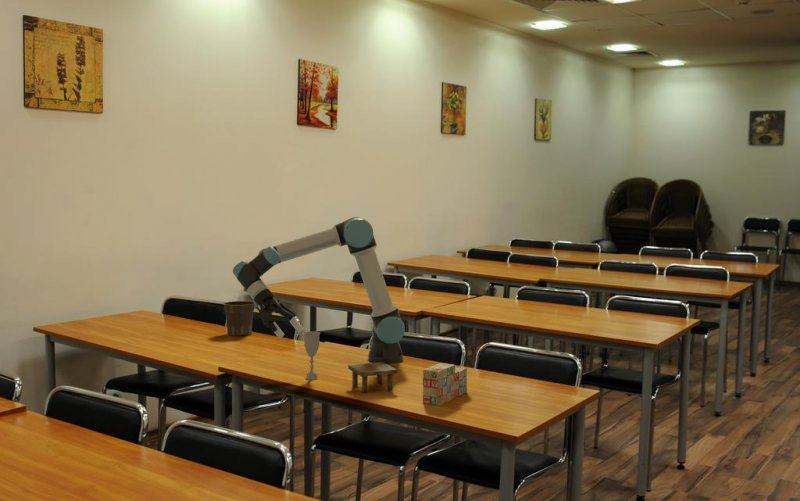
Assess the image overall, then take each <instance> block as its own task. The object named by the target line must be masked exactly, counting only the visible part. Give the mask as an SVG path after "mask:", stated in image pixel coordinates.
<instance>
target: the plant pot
mask: <svg viewBox="0 0 800 501" xmlns="http://www.w3.org/2000/svg"><path fill="white" fill-rule="evenodd" d="M255 305H256V303H255V301H252V300H251V301H248V300H235V301H233V300H232V301H226V302H223V307H224V308H223V309H224V312H225V318H226V320H225V321H226V322H225V323H226V332H227V335H228V336H233V337H234V336H235V337H240V336H250V335H251V334H252V332H253V319H254V311H255Z"/></svg>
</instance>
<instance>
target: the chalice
mask: <svg viewBox="0 0 800 501" xmlns="http://www.w3.org/2000/svg"><path fill="white" fill-rule="evenodd" d="M302 334H303V336H304V337H303V344H304V345H303V346H304V349H305V352H306V354H307V355H308V357H310V360H309V363H310V365H309V367H310V370H309V372H308V373H306V377H305V380H309V381H310V380H311V381H313V380H314V381H315V380H318V379H319V377H318V375H317V372H315V371H314V367H315V365H314V362H315V361H314V357H315V356H316V355H317V353H318V350H319V347H320V335H321V332H320V331H305V332H302Z"/></svg>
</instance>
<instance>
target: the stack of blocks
mask: <svg viewBox="0 0 800 501" xmlns="http://www.w3.org/2000/svg"><path fill="white" fill-rule="evenodd" d="M467 369H468V368H466V367H460V366H459V367H457V366H456V364H451V363H450V364H449V363H445V362H444V363H442V362H439V363H436V364H434V365H432V366H430V367H427V368H423V369H422V371H423V372H422V377H423V378H422V404H427V405H431V406H432V405H433V406H436V407H437V406H440V405H443V404H445V403H448V402H450V401H451V400H453V399H456V398H458V397H459V396H462V395H465V394H467V391H468V390H467V389H468V382H467V381H468V377H467V372H468V371H467Z"/></svg>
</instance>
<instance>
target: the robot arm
mask: <svg viewBox="0 0 800 501" xmlns="http://www.w3.org/2000/svg"><path fill="white" fill-rule="evenodd" d="M373 228H374V227H372V225H371V223H370V222H369V221H368V220H367V219H364V218H362V217H357V216H354V217H353V216H352V217H351V218H348V219H347V220H344V221H342V222H340V223H336V224H334V225H333V227H332V228H329V229H325V230H322V231H319V232H316V233H315V232H314V233H313V234H310V235H309V234H308V235H306V236H302V237H300V238H296V239H294V240H290V241H287V242H283V243H280V244H277V245H275V246H272V245H269V246H267V247H265V248H263V249H262V248H261V250H259V252H258V254H257V255H256V256H255V257H254V258H253V259H251V260H250V261H248V260H241V261H240V262H238V263H236V265H235V266H234V267H233V268H232V274H233V275H234V277H235V278H236V279H237V281H238V283H240V284H241V286H242V287H243V289H244V290H245V291H246V292H247V293H248V294H249V296H250V297H251V299H253V302H255V305H256V310H257V311H258V313H259V316H260V319H261V321H262V324H263V325H262V326H265V327H266V328H269V329H271V331H272V332H273V333H274V334H275V335H276V337H277V338H278V339H279V340H281V339H282V338H283V337H284V336H285V333H284V332H283V331H282V329H281V327H279V324H277V323H276V321H274V319H273V313H274V314H278V315H280V316H282V317H284V318H286V319H288V321H289V323H290V324H291V325H292V326H293V329H295V331H296V332H297V333H298V334H301V333H303V330H304V328H303V325H301V324H300V321H299V320H297V318H296V316H297V313H296V312H295V311H294V310H292V309H291V308H290V307H288V306H287V305H286V304H284V303H283V302H282V301H281V299H279V298H278V299H277V300H275V299H274V294H273V293H272V292H271V290H270V289H269V288H268V287H269V286H267V285H266V284H265V282H264V281H263V280H262V279H261V277H262V276H263V275H265V274H266V273H267V272H269V271H270V270H271V269H272V268H274V267H275V266H276V265H279V264H281V263H284V262H287V261H291V260H293V259H298V258H300V257H303V256H306V255H309V254H314V253H316V252H320V251H323V250H326V249H330V248H333V247H336V246H339V247H344V246H347V248H348V251H349V254H350V255H351V256H353V257H354V258H355V261H356V263H357V264H356V265H357V266H358V267H357V268H358V270H359V272H360V277H361V279H362V281H363V285H364V288H365V291H366V293H367V296H368V300H369V303H370V306H371V309H372V312H371V314H370V317H371V320H372V321H371V322H372V326H371V327H372V330H371V331H372V332H371V335H372V336H371V337H372V339H371V340H372V341H371V342H372V343H371V346H370V348H369V351H368V354H367V358H368V359H367V360H368V361H369V362H370V363H377V362H383V363H385V364H395V363H400V362H402V361H403V359H404V358H403V356H404V355H403V350H402V348H401V345H400V341H401V339H402V338H403V337H404V335H405V331H406V328H405V323H404V321H403V320H402V317H401V315H400V314H401V313H400V309H399V308H398V306H396V305H395V304H393V302H392V300H391V296H390V292H389V289H388V286H387V283H386V281H385V278H384V275H383V272H382V271H383V270H382V268H381V266H380V263H379V259H378V257H377V254H376V248H377V246H378V244H377V242H376V239H375V235H374V230H373Z"/></svg>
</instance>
